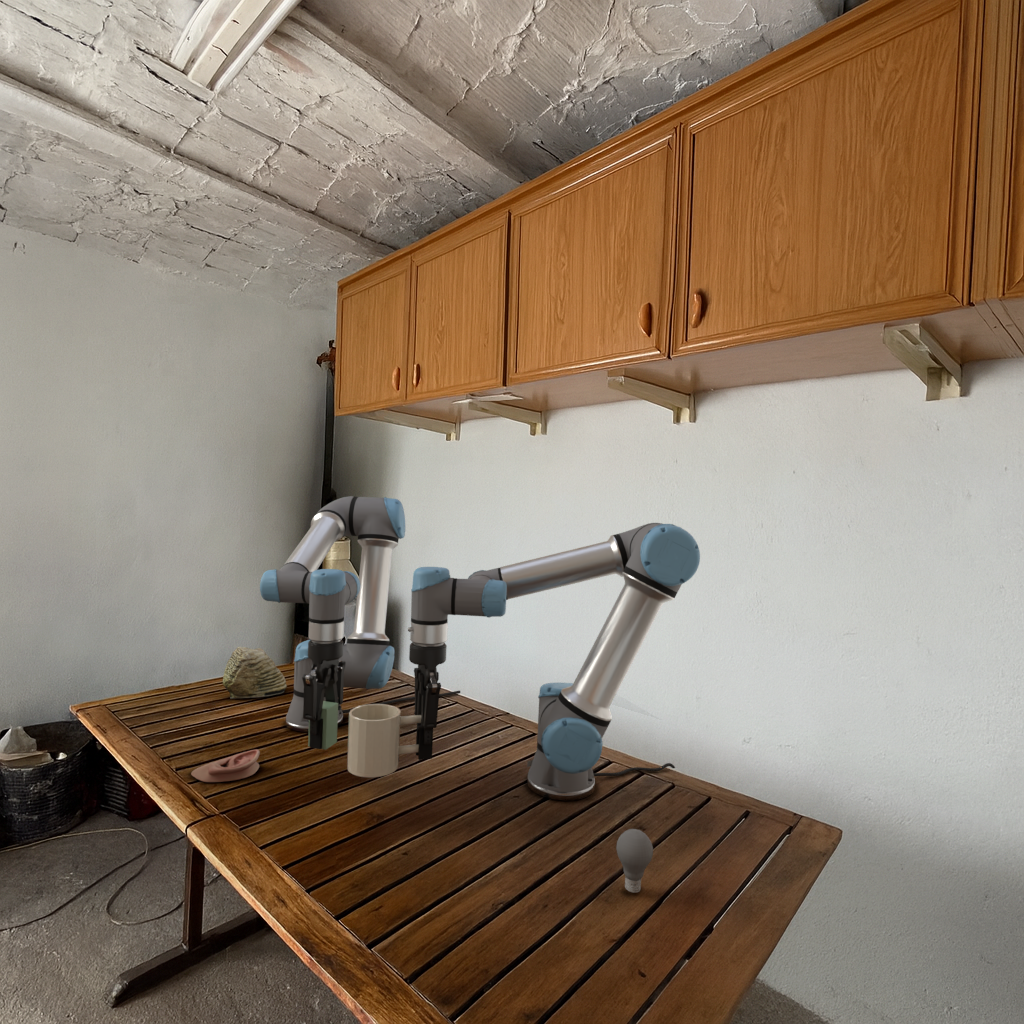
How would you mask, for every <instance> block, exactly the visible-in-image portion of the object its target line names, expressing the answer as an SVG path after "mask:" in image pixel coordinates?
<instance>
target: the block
mask: <svg viewBox="0 0 1024 1024" xmlns="http://www.w3.org/2000/svg"><path fill="white" fill-rule="evenodd" d="M321 719H323V738H322V748H321V749H320V750H324V751H326V750H328V749H329V748H331V747H332V746H334V745H335V744H337V742H338V726H337V724H338V703H334V702H328V701H323V706H322V713H321ZM307 740H308V741H307V744H308V745H307V747H308V748H310V720H309V732H308V738H307Z"/></svg>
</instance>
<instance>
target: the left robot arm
mask: <svg viewBox="0 0 1024 1024" xmlns="http://www.w3.org/2000/svg"><path fill="white" fill-rule="evenodd" d="M348 536H349V537H357V543H358V544H359V546H360V547H361V553H360V554H361V556H360V565H359V575H356V574H355V573H354V572H351V571H348V570H341V569H337V568H321V569H319V567H320V566H321V564H322V563H323V561H324V560H325V558H326V557H327V555H328V553H329V552H330V550H331V549H332V547H333V545H334V544H335V543H336V542H338V541H339V540H341V539H342V538H343V537H348ZM405 536H406V515H405V509H404V506H403V504H402V502H401V500H400V499H397V498H391V497H386V496H385V497H382V496H381V497H379V496H356V495H355V496H353V495H350V496H343V497H341V498H337V499H335V500H332V501H331V502H329V503H327V504H325V505H324V506H323V507H321V508H320V509H319V510H318V511H317V512H316V513H315V514H314V515H313V517H312V519H311V521H310V528H309V529H308V531H307V532H306V533H305V535H304V536H303V538H302V539H301V540H300V542H299V543H298V544H297V546H296V547H295V548H294V550H293V551H292V552H291V554H290V556H289V557H288V558H287V559H286V561H285V562H284V564H283V565H282V566H281V568H280V569H277V568H274V569H268V570H266V571H264V572H263V574H262V575H261V578H260V583H259V592H260V596H261V598H262V599H263V600H264V601H266V602H273V603H279V604H280V603H287V604H288V603H289V604H290V603H291V604H308V639H307V640H304V641H302V642H300V643H298V644H297V645H296V648H295V655H294V659H293V662H294V672H293V695H292V696H293V697H292V699H291V702H290V704H289V708H288V711H287V713H286V715H285V726H286V728H287V729H289V730H291V731H294V732H295V731H296V732H301V733H309V720H310V747H309V748H312V749H315V750H316V749H317V750H322V749H321V748H322V738H323V719H321V713H322V706H323V701H328V702H334V703H338V724H337V727H339V726H340V725H342V723H343V722H344V714H349V712H350V710H351V709H342V704H343V703H344V688H348V689H364V690H365V689H366V690H371V689H373V690H374V689H375V690H377V689H379V690H380V689H382V688H384V687H385V686H386V685H387V684H388V682H389V680H390V677H391V675H392V671H393V668H394V662H395V651H396V650H395V647H394V646H392V645H390V638H389V637H388V636H387V635H386V621H387V611H388V600H389V592H390V591H389V590H390V579H391V569H392V556H393V550H394V549H395V548H397V547H398V546H399V540H401V539H404V538H405ZM355 599H356V604H355V605H356V606H355V615H354V624H353V631H352V633H351V634H350V635H348V636H347V638H346V643H345V644H344V641H343V638H344V637H345V607H346V606H345V605H348V604H349V603H351V602H353V601H354V600H355ZM458 694H461V690H455V691H449V692H443V693H439V698H441V697H447V696H453V695H458ZM406 701H415V696H408V697H401V698H396V699H391V700H386V701H382V702H378V703H377V704H386V705H391V704H394V703H401V702H406Z"/></svg>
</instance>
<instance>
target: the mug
mask: <svg viewBox="0 0 1024 1024" xmlns="http://www.w3.org/2000/svg"><path fill="white" fill-rule="evenodd" d="M349 710H350V712H349V713H348V728H347V732H348V733H347V753H346V754H347V755H346V756H347V758H346V761H347V762H346V769H347V771H348V772H349V773H350V774H352V775H354V776H356V777H359V778H360V777H361V778H379V777H384V776H388V775H390V774H393V773H394V772H396V771H397V770H398V768H399V762H400V755H407V754H416V753H418V751H419V744H416V743H414V744H407V745H405V744H404V745H400V742H401V738H400V737H401V726H402V725H413V724H414V725H415V724H417V723H421V715H415V714H414V715H413V714H412V715H404V716H403V715H402V714H401V713H402V711H401V709H400V708H399V707H397V706H396V705H395V706H394V705H391V704H378V703H369V704H363V705H358V706H356V707H353V708H352V709H349ZM401 715H402V716H401Z"/></svg>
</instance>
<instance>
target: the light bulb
mask: <svg viewBox="0 0 1024 1024" xmlns="http://www.w3.org/2000/svg"><path fill="white" fill-rule="evenodd" d="M615 849H616V854H617V857H618V859H619V861H620V863H621V865H622V867H623V873H624V874H623V875H624V876H625V878H624V888H625V890H627V891H628V892H630V893H634V894H635V893H639V892H640V891H641V889H642V887H641V886H642V879H643V877H644V875H645V871H646V868H647V867H648V866H649V864H650V863H651V861H652V859H653V855H654V847H653V843H652V841H651V838H649V836H648V835H647V834H646V833H645V832H643V831H642V830H641V829H636V828H629V829H627V830H625V831H623V832H622V833H621V834H620V835H619V837H618V839H617V841H616V847H615Z"/></svg>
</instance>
